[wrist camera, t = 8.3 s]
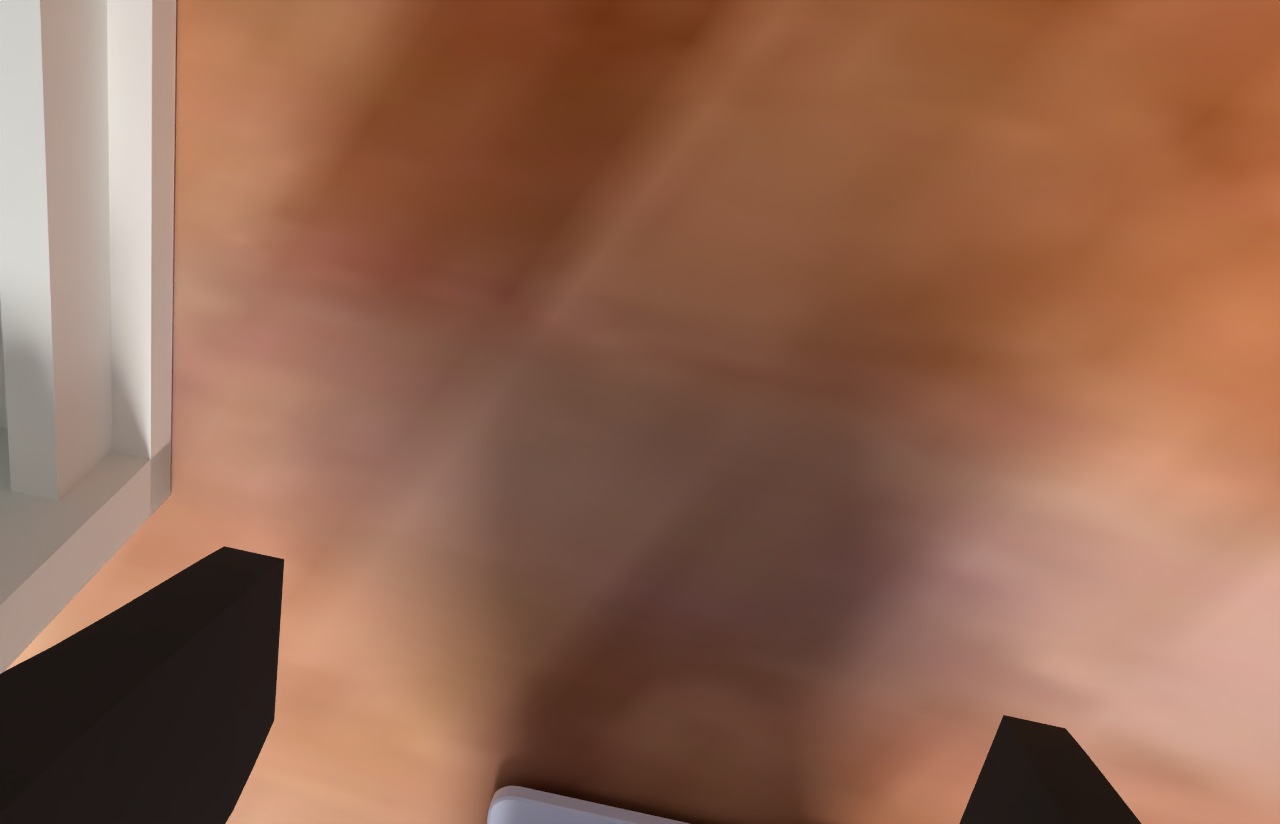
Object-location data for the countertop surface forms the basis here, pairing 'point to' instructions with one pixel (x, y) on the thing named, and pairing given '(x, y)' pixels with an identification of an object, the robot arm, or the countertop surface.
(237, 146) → the countertop surface
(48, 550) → the track
